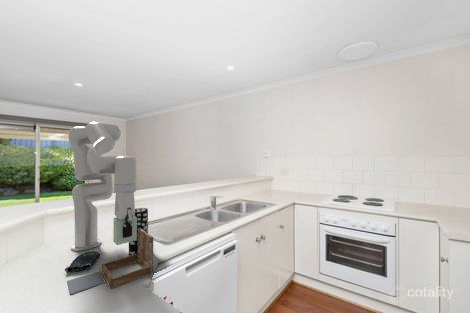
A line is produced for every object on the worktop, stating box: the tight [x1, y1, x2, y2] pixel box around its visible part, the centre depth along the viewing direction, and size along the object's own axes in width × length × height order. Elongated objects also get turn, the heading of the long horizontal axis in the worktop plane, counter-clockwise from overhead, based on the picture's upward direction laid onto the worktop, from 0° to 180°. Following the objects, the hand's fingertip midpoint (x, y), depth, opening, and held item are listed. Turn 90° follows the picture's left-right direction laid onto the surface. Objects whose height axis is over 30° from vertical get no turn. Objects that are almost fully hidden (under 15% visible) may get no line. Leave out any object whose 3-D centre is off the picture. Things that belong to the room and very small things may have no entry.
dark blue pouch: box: [64, 250, 102, 275], centre depth 91 cm, size 9×6×15 cm
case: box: [101, 228, 155, 290], centre depth 83 cm, size 16×15×14 cm
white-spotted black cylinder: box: [128, 207, 149, 256], centre depth 101 cm, size 8×8×20 cm
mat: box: [66, 270, 106, 296], centre depth 77 cm, size 10×10×1 cm
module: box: [112, 216, 137, 246], centre depth 83 cm, size 5×7×10 cm
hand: (125, 234), depth 83 cm, fingers closed on module, 5 cm apart
